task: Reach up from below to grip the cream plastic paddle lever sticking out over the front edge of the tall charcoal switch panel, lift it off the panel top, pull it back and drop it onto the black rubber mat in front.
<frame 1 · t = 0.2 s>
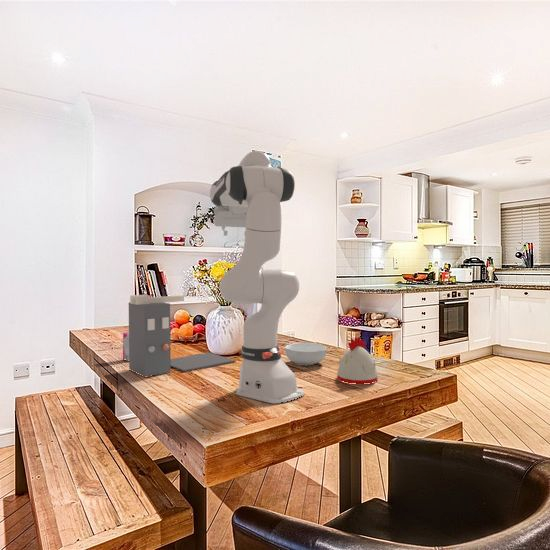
hand: (235, 235, 189), 54 cm above the table, tool tilted 25°, fingers open, 8 cm apart
switch panel: (149, 371, 158), on the table
supplement box: (132, 360, 177), on the table
cereal bowl: (305, 364, 171), on the table
rubber mat: (197, 362, 172), on the table
beanie hat: (357, 380, 148), on the table
paddle lever: (158, 302, 160), point 26 cm above the table, touching switch panel
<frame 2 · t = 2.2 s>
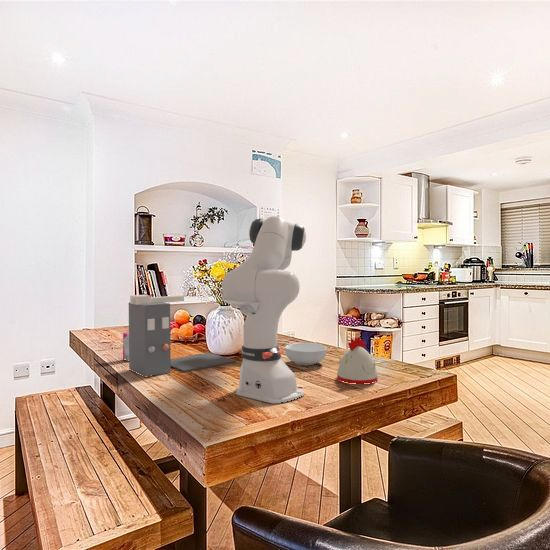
hand: (227, 292, 178), 29 cm above the table, tool pointing upward, fingers open, 8 cm apart
nothing on the table moved.
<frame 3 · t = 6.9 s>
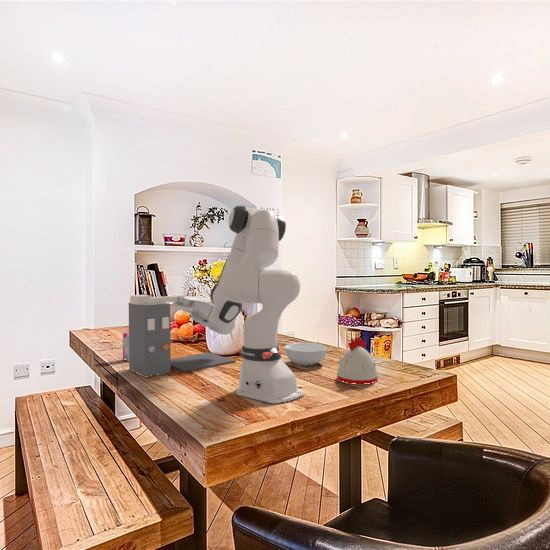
hand: (175, 297, 165), 27 cm above the table, tool pointing upward, fingers closed on paddle lever, 3 cm apart
paddle lever: (158, 302, 160), point 26 cm above the table, touching gripper, switch panel
everything else where it was.
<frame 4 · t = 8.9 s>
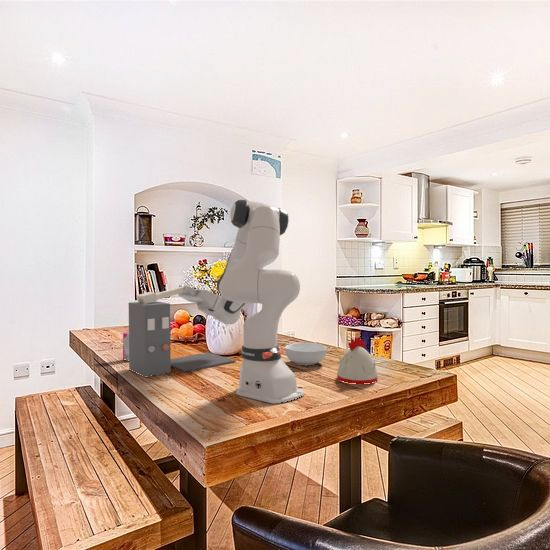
hand: (181, 287, 167), 31 cm above the table, tool pointing upward, fingers closed on paddle lever, 3 cm apart
paddle lever: (165, 296, 162), point 28 cm above the table, tilted 12°, touching gripper
everything else where it was.
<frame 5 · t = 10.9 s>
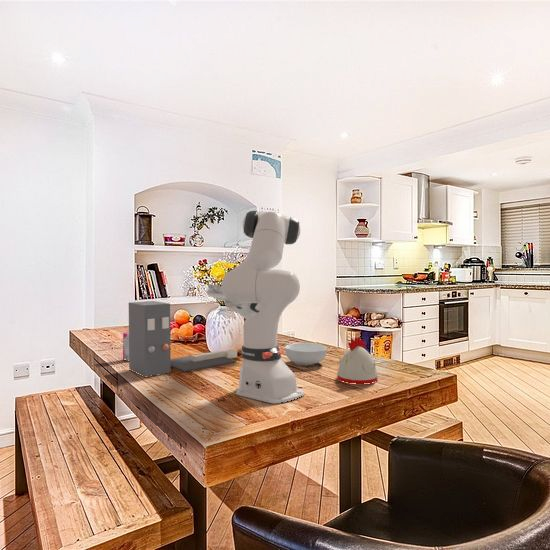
hand: (211, 285, 176), 31 cm above the table, tool pointing upward
paddle lever: (213, 352, 178), point 3 cm above the table, tilted 180°, touching rubber mat
everything else where it was.
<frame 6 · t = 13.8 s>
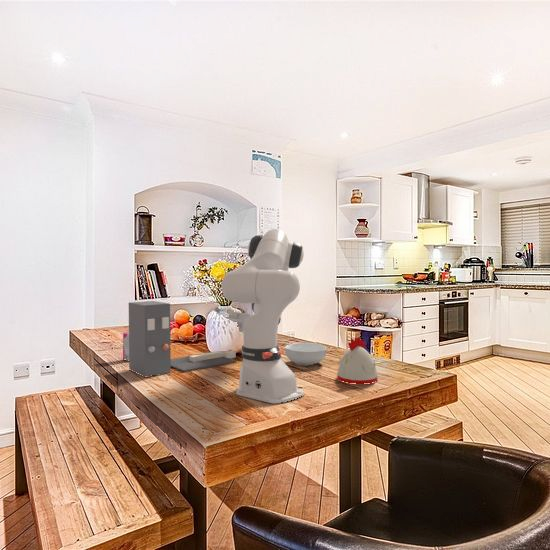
hand: (221, 310, 180), 21 cm above the table, tool pointing upward, fingers open, 8 cm apart
nothing on the table moved.
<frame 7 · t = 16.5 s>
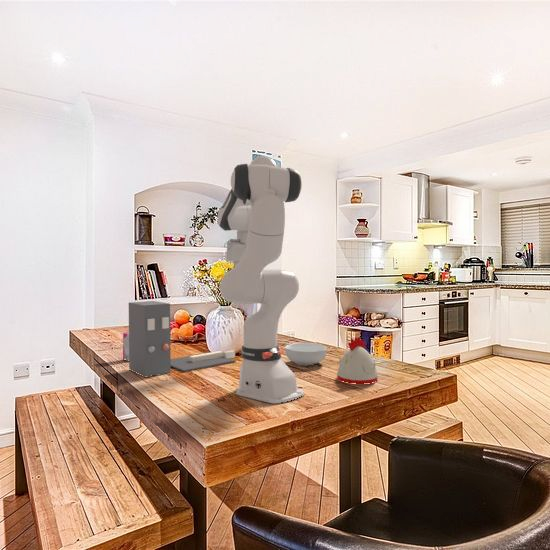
hand: (247, 272, 177), 37 cm above the table, tool pointing down, fingers open, 8 cm apart
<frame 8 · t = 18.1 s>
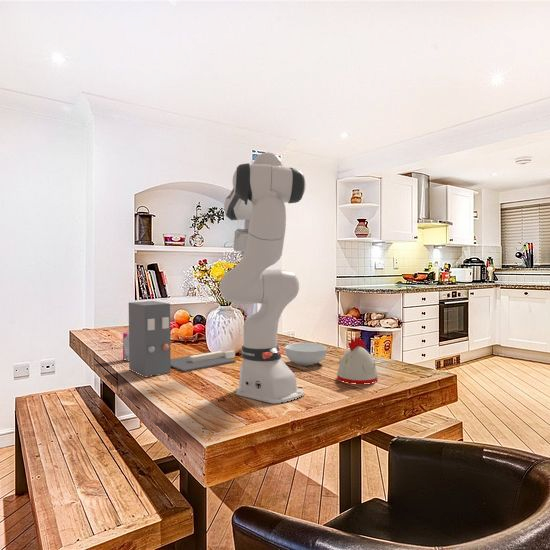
hand: (255, 262, 175), 41 cm above the table, tool pointing down, fingers open, 8 cm apart
at the end: paddle lever inside the target area (7.0 cm from its centre), point 2.8 cm above the table; paddle lever touching rubber mat, table; the gripper is holding nothing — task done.
